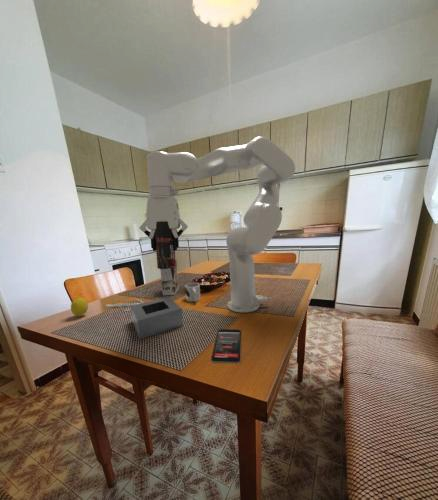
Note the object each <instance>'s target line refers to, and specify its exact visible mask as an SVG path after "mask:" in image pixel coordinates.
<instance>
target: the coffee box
mask: <svg viewBox="0 0 438 500" xmlns="http://www.w3.org/2000/svg"><path fill="white" fill-rule="evenodd" d="M175 262H176V267H174V268H170V269H159V270H160V280H161V281H160V282H161V292H162V296H175V295H176V294H177V292H178V291H179V279H178V278H179V275H178V269H177V268H178V265H177V259H175Z"/></svg>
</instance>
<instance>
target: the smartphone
mask: <svg viewBox="0 0 438 500" xmlns="http://www.w3.org/2000/svg"><path fill="white" fill-rule="evenodd" d="M241 347H242V330H241V329H236V328H235V329H229V328H228V329H227V328H226V329H225V328H223V329H218V330H217V333H216V336H215V341H214V346H213V351H212V355H211V359H210V360H211V363H216V364H217V363H220V364H239V363H241V357H242V356H241V355H242V351H241V350H242V349H241Z"/></svg>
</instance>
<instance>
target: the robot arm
mask: <svg viewBox="0 0 438 500" xmlns="http://www.w3.org/2000/svg"><path fill="white" fill-rule="evenodd" d="M261 164H263V166H261V167H260V168H259V169H258V172H257V174H256V180H257V184H258V189H259V190H258V194H257V196H256V198H255V199H254V201H253V202H252V203H251V204H250V206H249V208H248V209H247V210H246V212H245V214H244V216H243V224H244V226H245V227H243V226H241V227H234V228H232V229H231V230H230V231H229V232H228V233H227V236H226V248H227V253H228V260H229V279H230V298H231V299H230V301H228V303H227V308H228V309H229V310H231V311H233V312H235V313H243V314H244V313H252V312H255V311H257V310H258V309H259V308H260V303H262V302H263V303H266V302H268V297H267V296H263V295H257V294H256V284H255V261H254V256H255V255H258V254H260V253H262V252H263V251H264V250H265V248H266V247H267V246H268V244H269V243H270V242H271V240H272V238H273V237H274V235H275V233H277V230H278V229H279V228H280V225H281V223H282V219H283V214H282V210H281V208H280V206H278V203H279V201H280V200H279V199H280V197H279V196H280V195H279V194H280V193H279V191H278V187H277V185H278V184H280V183H284V182H288V181H290V179H292V178H293V177H294V175H295V172H296V165H295V162H294V160H293V158H291V157H290V155H289V154H287V153H286V152H285V151H284V150H282V149H281V148H280V147H279V146H278V145H277V144H276V143H274V142H273V141H272V140H271V139H269V138H266V137H265V136H257V137H254V138H253V139H251V140H249V142H248V143H246V144H242V145H241V144H240V145H234V146H233V145H232V146H227V147H226V146H225V147H219V148H216V149H215V150H212V151H210V152H208V153H207V154H205V155H203V156H201V157H196V156H195V155H194V154H192V153H190V152H186V151H184V152H183V151H181V152H166V151H162V150H161V151H160V150H159V151H158V150H156V151H155V150H154V151H151V152H149V153H148V154H147V157H146V166H147V178H148V179H147V180H148V193H149V198H147V200H146V201H147V203H146V219H145V220H144V222H143V223H142V224H141V225H140V226H139V230H141V232H143V233H144V234H145V236H147V237H148V238H149V239H150V248H151V249H152V251H153V252H156V240H155V230H156V222H164V221H168V225H169V228H170V229H172V232H173V235H174V238H173V248H174V250H175V251H177V250H178V248H180V245H179V243H180V242H179V241H180V240H179V237H181V235H182V234H184V232H185V231H186V230H187V229H188V228H189V227H188V224H187V223H185V222H184V221H183V219H181V218H180V217H181V216H180V208H179V203H178V198H176V197H175V196H176V195H179V190H178V189H174V182H175V183H177V184H185V183H191V182H196V181H200V180H204V179H207V178H213V177H218V176H221V175H225V174H230V173H236V172H242V171H246V170H250V169H251V170H252V169H253V168H256V167H258V166H259V165H261ZM177 229H179V230H177ZM253 255H254V256H253Z"/></svg>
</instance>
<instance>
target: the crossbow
mask: <svg viewBox="0 0 438 500" xmlns="http://www.w3.org/2000/svg"><path fill="white" fill-rule="evenodd" d="M134 300H135V301H136V302H138V303H125V302H122V303H121V302H120V303H118V302H117V303H115V304H105V308H106V309H110V308H111V309H112V308H118V307H119V308H121V309H122V310H123V311H124V313H126V311H127V312H130V311H131V308H129V309H124V308H123V307H124V306H127V307H131V306H133V305H137V304H141V303H144V302H143V301H142V300H139V299H138V298H135V299H133V301H134ZM129 301H130V302H131V301H132V300H129Z"/></svg>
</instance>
